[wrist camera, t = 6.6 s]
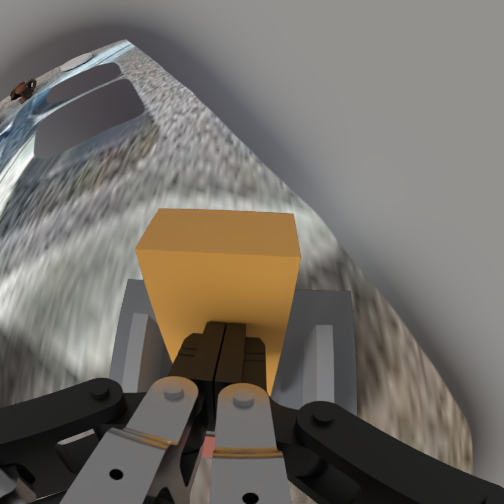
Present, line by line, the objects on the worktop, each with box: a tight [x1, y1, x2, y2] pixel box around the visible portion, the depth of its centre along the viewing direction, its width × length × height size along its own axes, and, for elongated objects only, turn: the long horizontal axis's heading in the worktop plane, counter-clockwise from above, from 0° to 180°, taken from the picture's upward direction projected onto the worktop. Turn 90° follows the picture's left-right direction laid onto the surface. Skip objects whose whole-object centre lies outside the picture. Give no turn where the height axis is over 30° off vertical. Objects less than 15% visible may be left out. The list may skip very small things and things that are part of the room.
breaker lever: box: [135, 209, 301, 402], centre depth 13 cm, size 6×2×13 cm, turn 87°
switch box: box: [109, 279, 357, 459], centre depth 19 cm, size 18×13×10 cm
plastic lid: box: [60, 53, 92, 71], centre depth 72 cm, size 14×14×2 cm
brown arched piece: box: [10, 79, 36, 104], centre depth 60 cm, size 12×10×8 cm
